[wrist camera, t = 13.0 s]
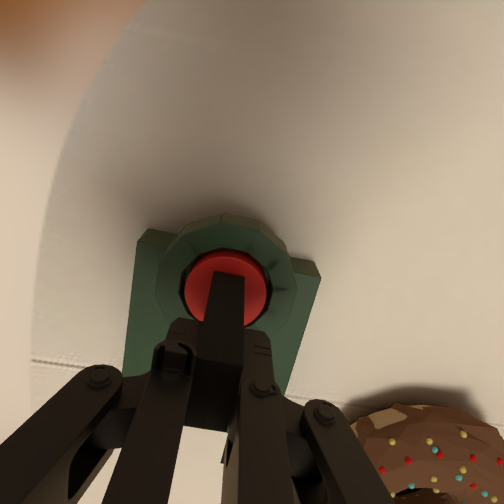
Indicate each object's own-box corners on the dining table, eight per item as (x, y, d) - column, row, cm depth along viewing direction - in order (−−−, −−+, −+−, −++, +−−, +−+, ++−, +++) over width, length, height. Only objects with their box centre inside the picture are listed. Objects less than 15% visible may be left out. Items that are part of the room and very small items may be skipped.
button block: (152, 186, 20) (131, 204, 17) (326, 223, 21) (343, 247, 17) (127, 390, 25) (106, 439, 22) (268, 413, 26) (272, 464, 22)
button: (196, 237, 19) (191, 249, 17) (272, 252, 19) (275, 265, 17) (184, 305, 20) (178, 322, 18) (255, 318, 20) (256, 336, 19)
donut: (404, 540, 31) (431, 616, 27) (275, 476, 28) (280, 548, 24) (537, 436, 27) (598, 504, 23) (402, 349, 24) (439, 406, 20)
